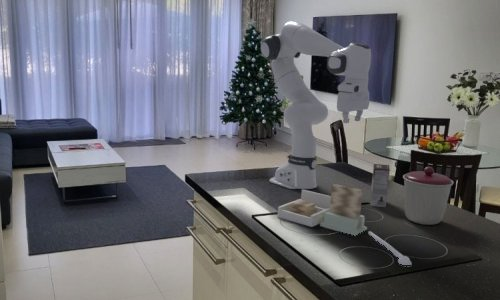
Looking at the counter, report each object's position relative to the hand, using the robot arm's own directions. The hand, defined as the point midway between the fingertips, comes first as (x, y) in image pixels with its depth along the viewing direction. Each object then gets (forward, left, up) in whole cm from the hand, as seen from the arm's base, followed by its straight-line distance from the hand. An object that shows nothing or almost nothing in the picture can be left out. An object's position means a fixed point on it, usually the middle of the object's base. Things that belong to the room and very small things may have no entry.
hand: (351, 122), depth 197 cm
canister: (+29, +9, -35) cm, 47 cm away
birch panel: (+11, -20, -34) cm, 41 cm away
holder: (+11, -21, -35) cm, 42 cm away
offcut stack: (-5, -23, -35) cm, 42 cm away
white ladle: (+30, -28, -36) cm, 54 cm away
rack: (-5, -21, -35) cm, 41 cm away
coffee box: (+7, +17, -35) cm, 40 cm away
